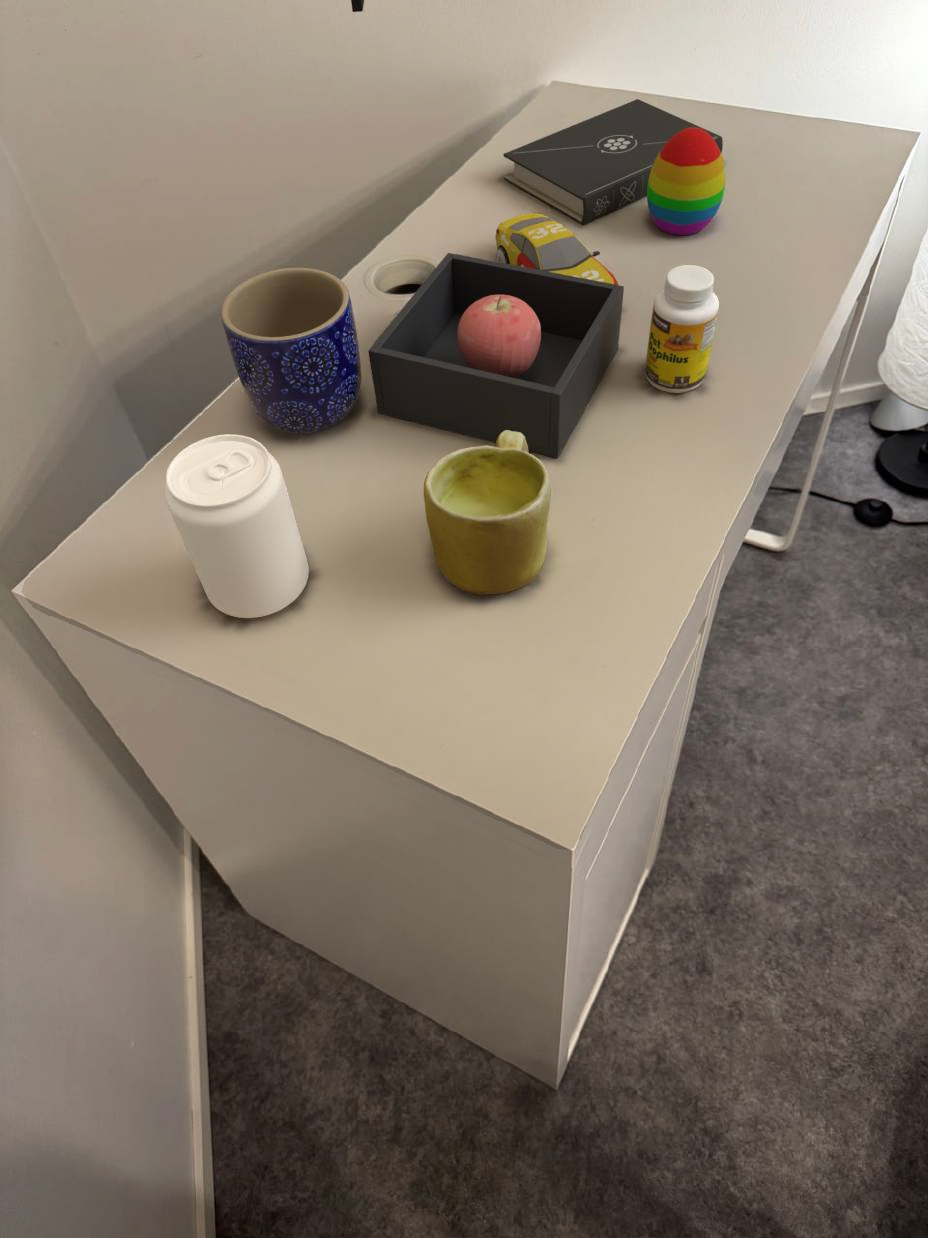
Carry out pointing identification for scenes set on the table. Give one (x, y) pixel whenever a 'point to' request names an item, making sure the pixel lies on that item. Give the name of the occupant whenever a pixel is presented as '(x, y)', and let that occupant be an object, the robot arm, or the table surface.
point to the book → (597, 160)
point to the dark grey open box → (486, 402)
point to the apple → (499, 335)
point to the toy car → (547, 248)
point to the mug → (489, 515)
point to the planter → (295, 347)
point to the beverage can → (237, 525)
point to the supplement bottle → (682, 330)
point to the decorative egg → (686, 182)
